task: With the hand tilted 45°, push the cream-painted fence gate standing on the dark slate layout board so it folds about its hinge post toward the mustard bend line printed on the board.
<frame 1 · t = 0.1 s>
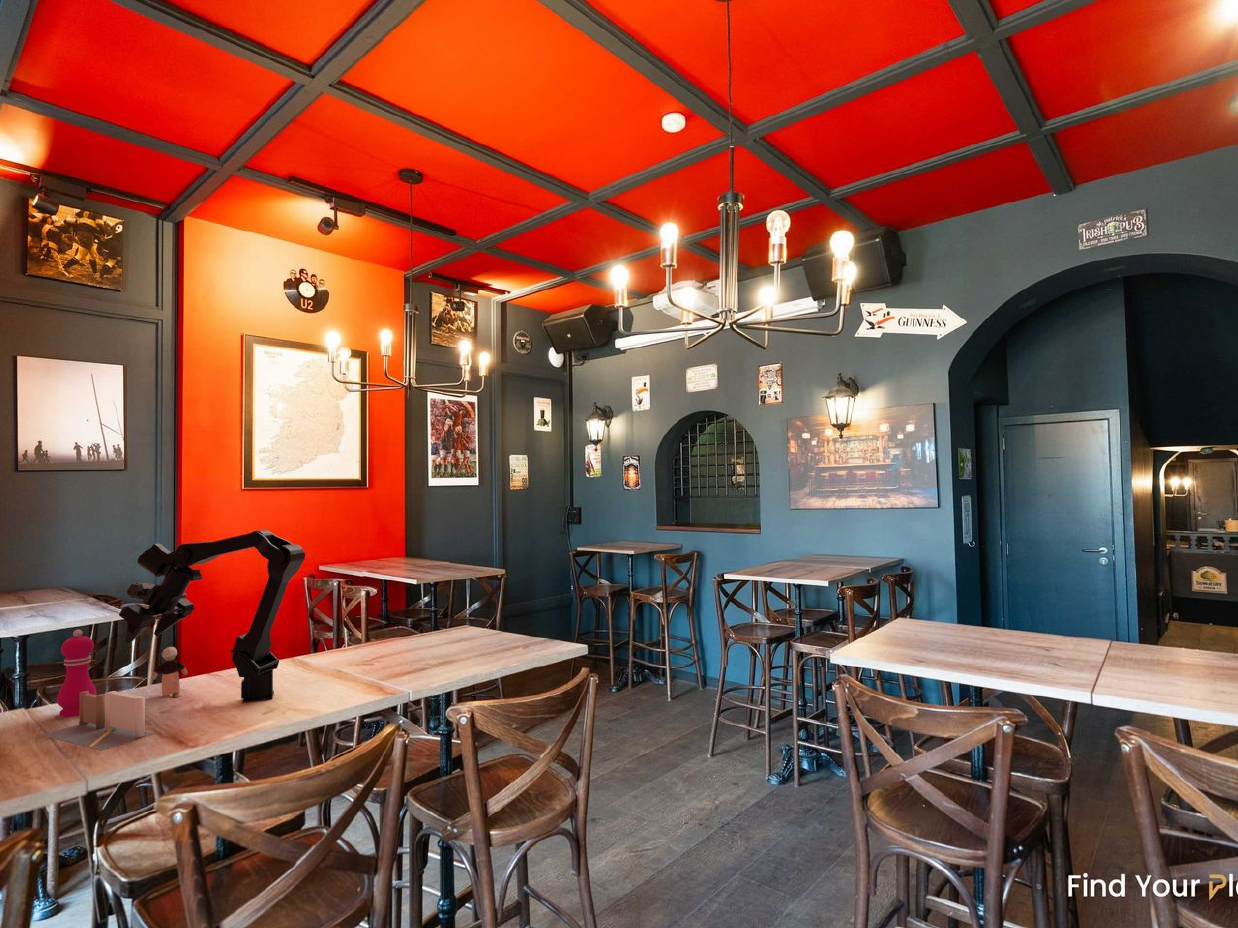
hand: (141, 638, 171), 15 cm above the table, tool tilted 35°, fingers open, 9 cm apart
fence gate: (125, 713, 141), point 5 cm above the table, hinge at 0.0°
pepper mill: (76, 716, 157), on the table
layout board: (110, 734, 144), on the table
grandmother figurine: (169, 698, 170), on the table
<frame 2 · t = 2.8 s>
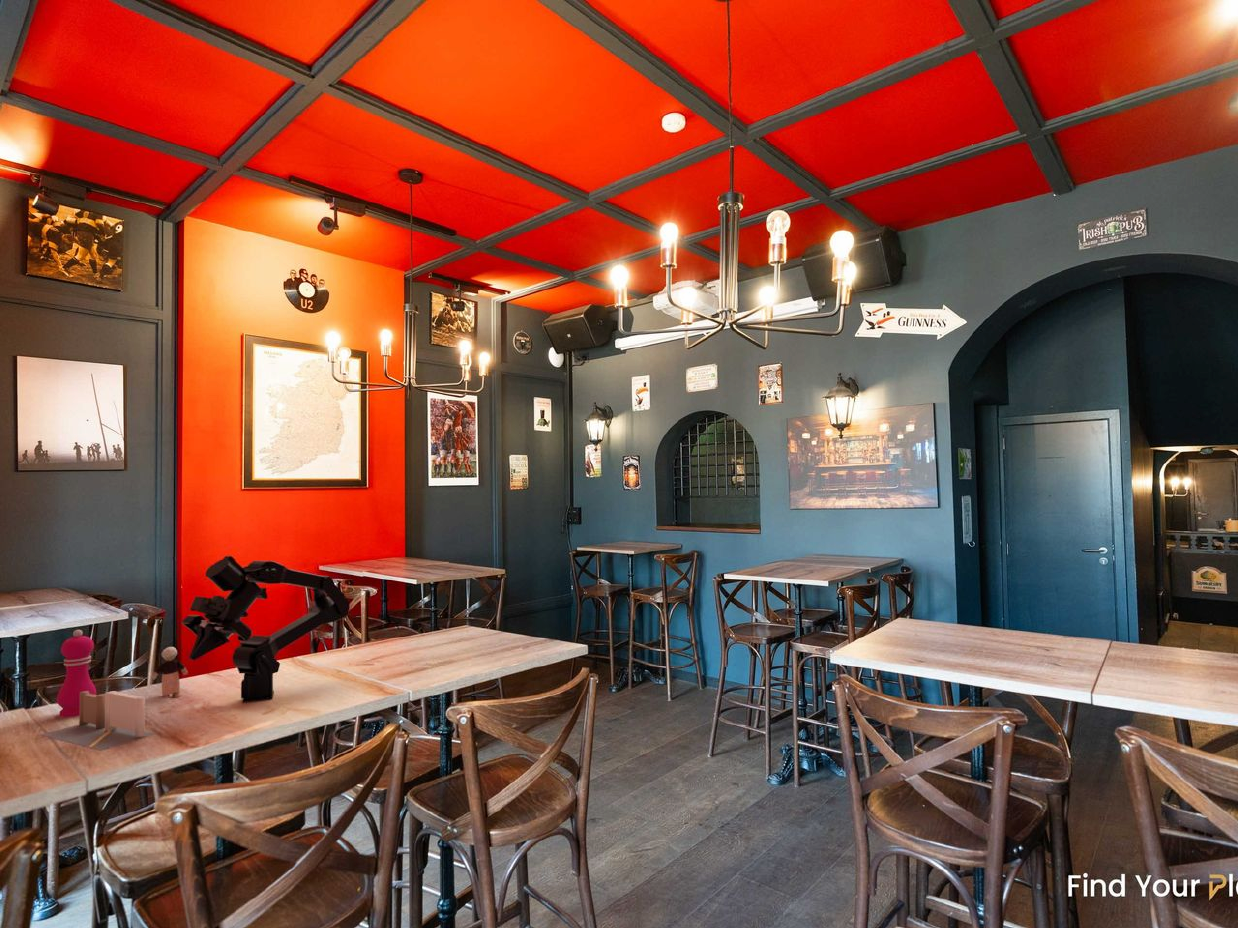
hand: (191, 659, 153), 13 cm above the table, tool tilted 45°, fingers closed
nothing on the table moved.
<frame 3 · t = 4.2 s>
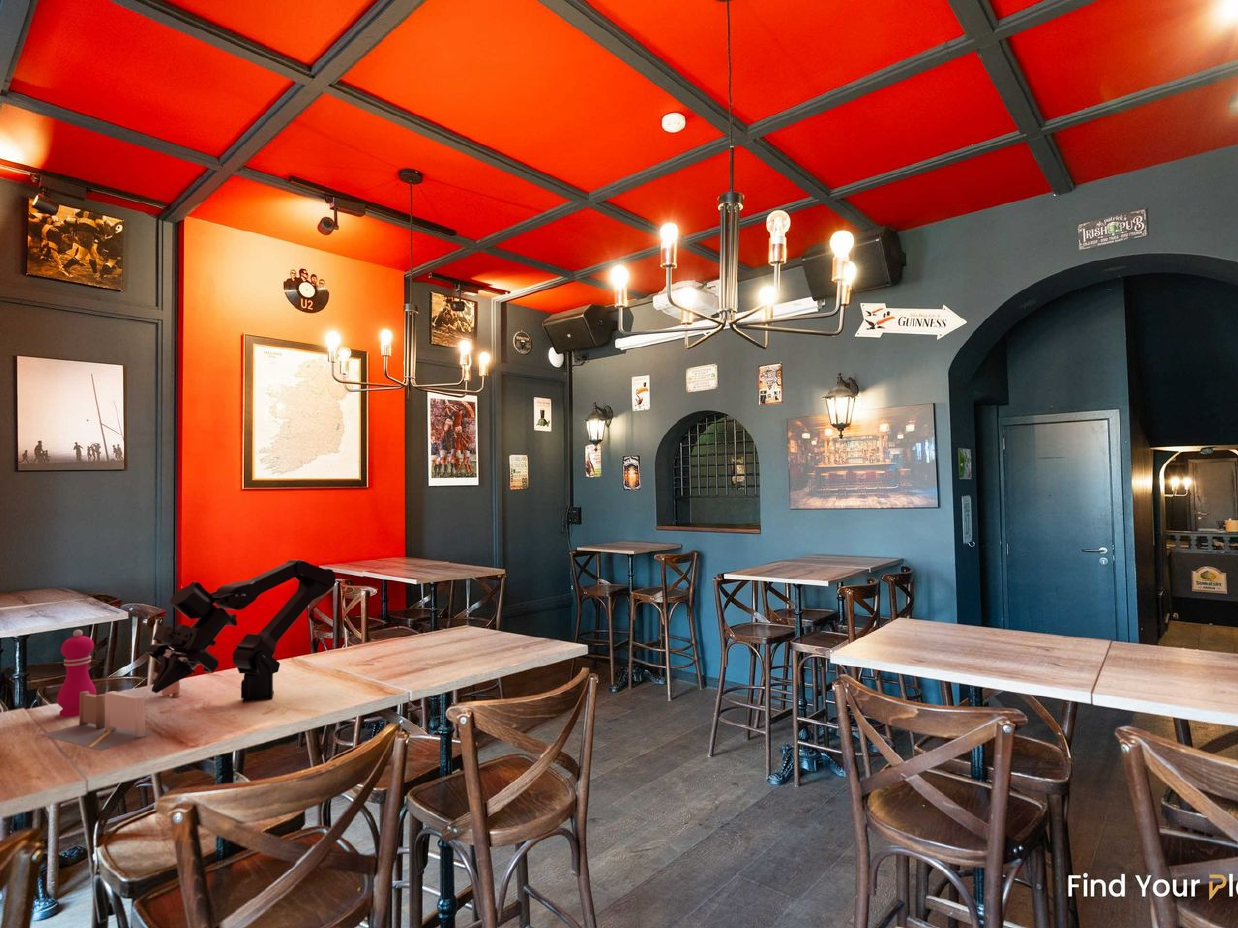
hand: (153, 691, 146), 8 cm above the table, tool tilted 45°, fingers closed
nothing on the table moved.
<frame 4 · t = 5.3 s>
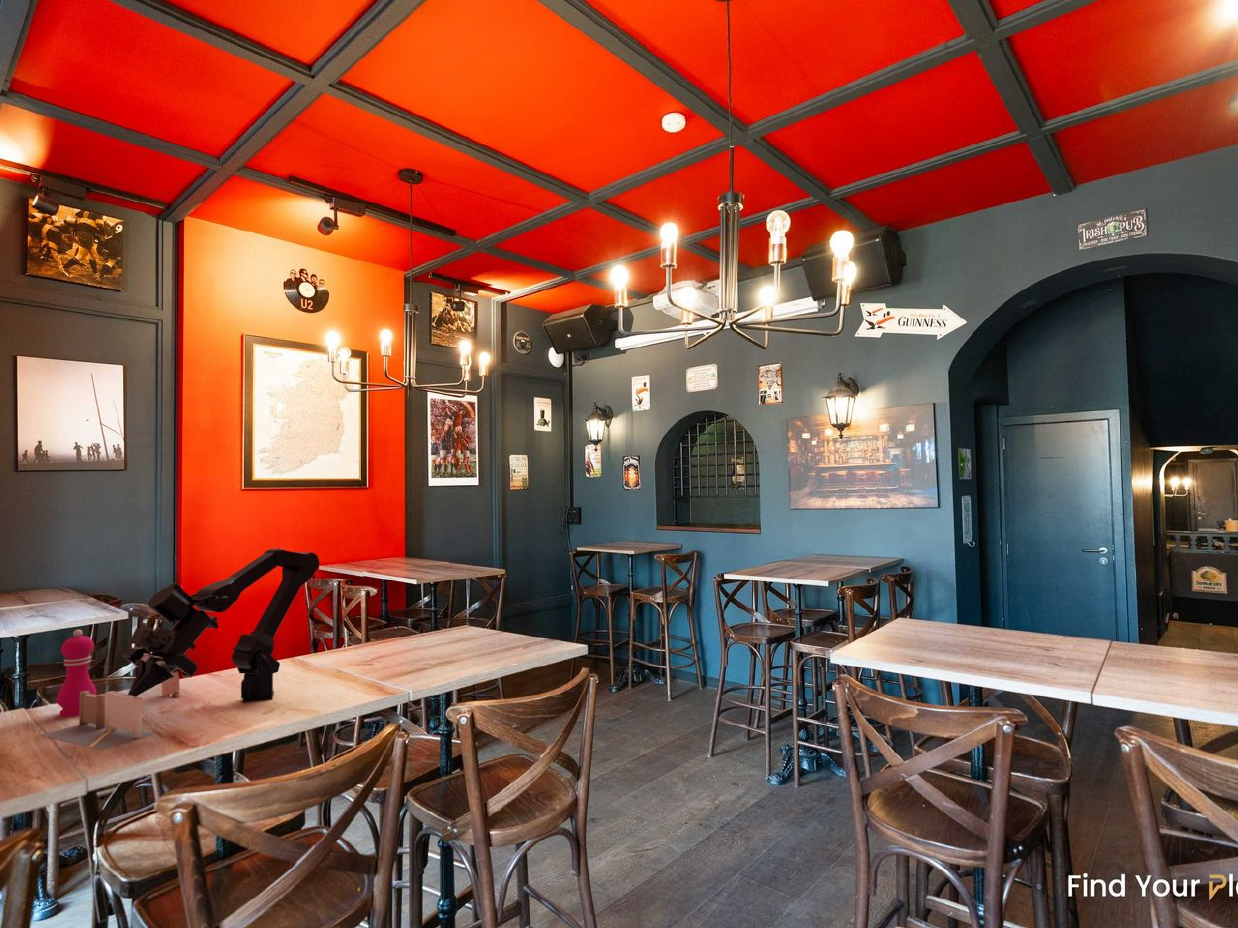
hand: (130, 696, 142), 8 cm above the table, tool tilted 45°, fingers closed, pressing on fence gate
fence gate: (123, 714, 141), point 5 cm above the table, hinge at 2.8°, touching gripper
everything else where it was.
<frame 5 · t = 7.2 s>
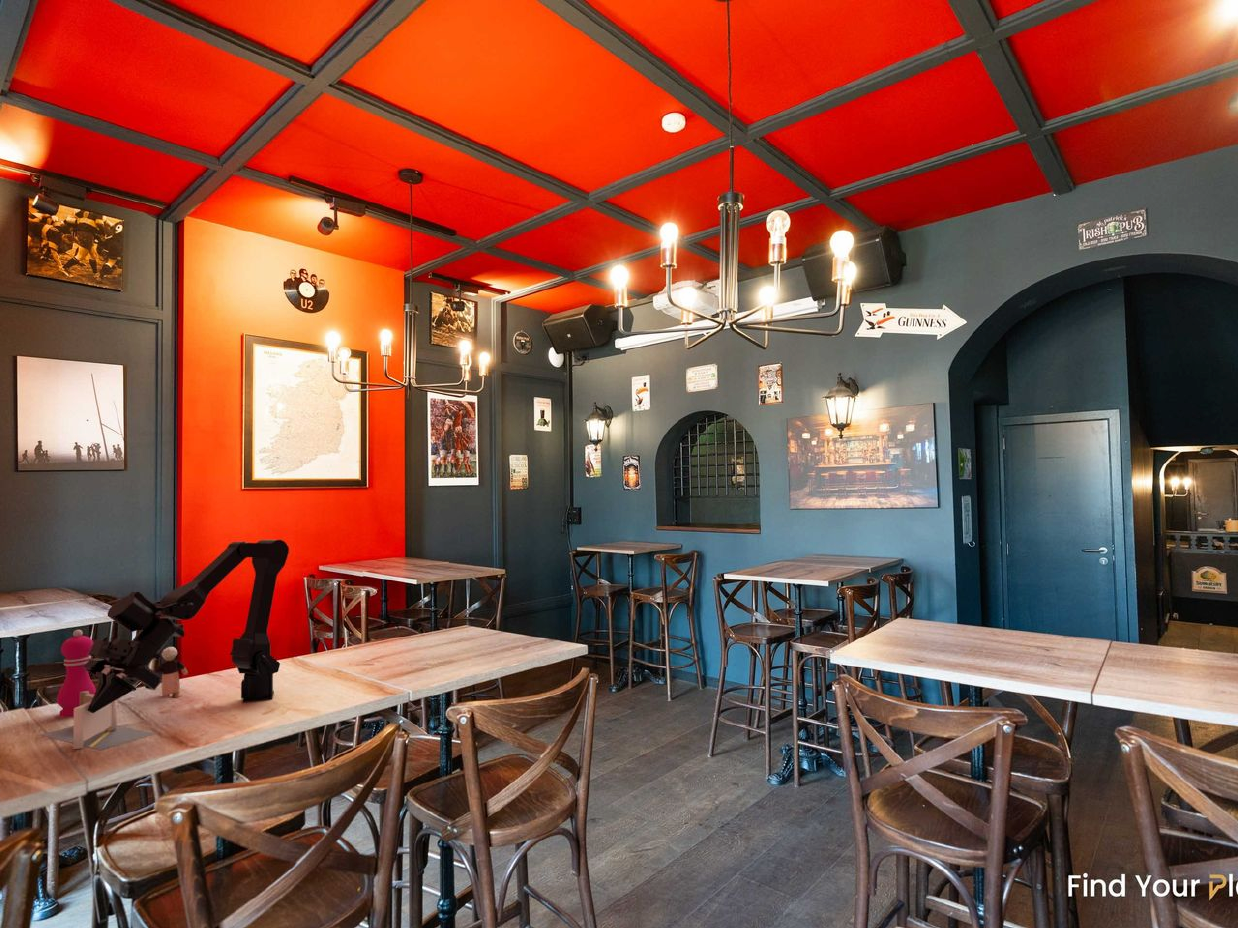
hand: (90, 711, 135), 7 cm above the table, tool tilted 45°, fingers closed
fence gate: (95, 718, 139), point 5 cm above the table, hinge at 55.3°, touching gripper
everything else where it was.
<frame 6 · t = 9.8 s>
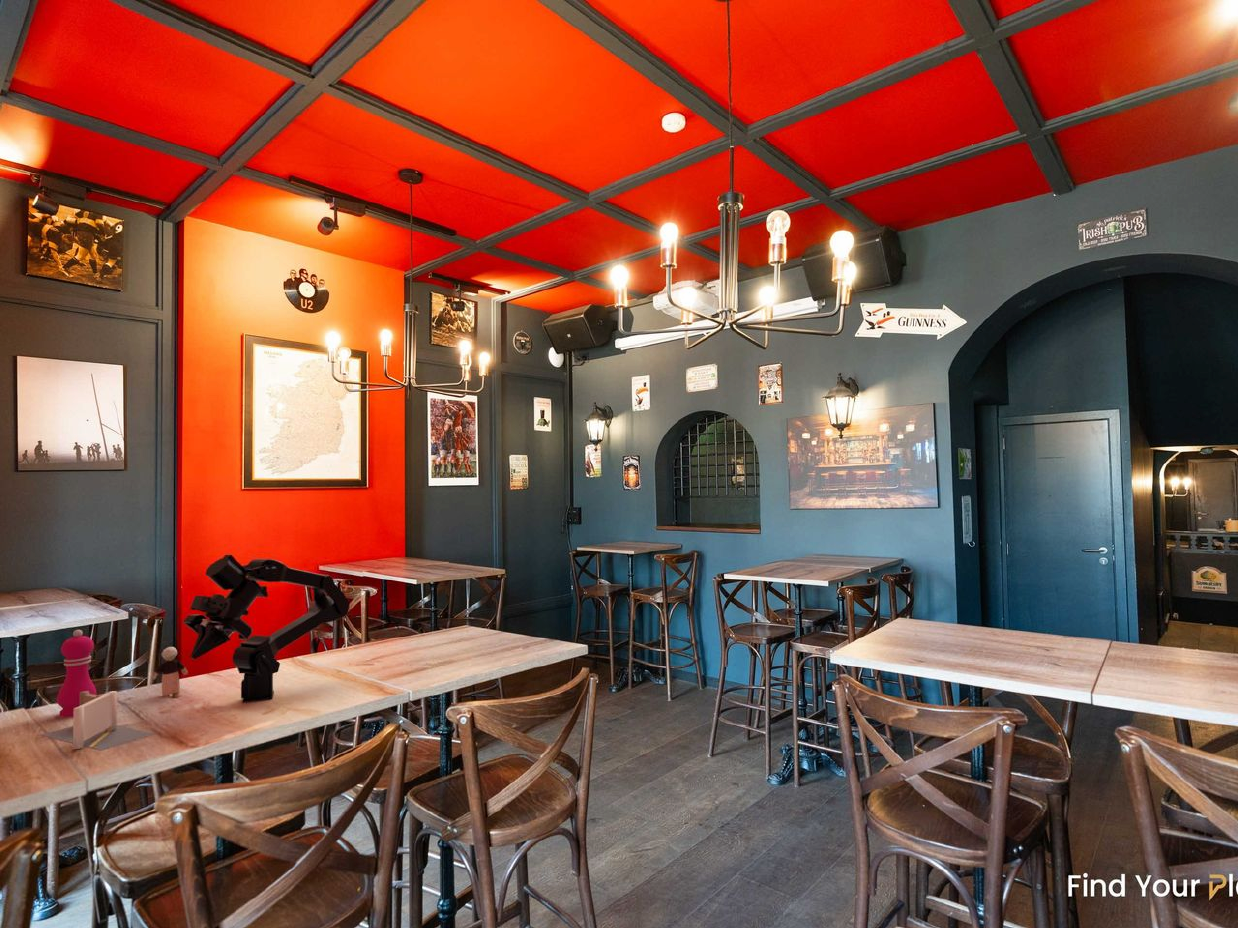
hand: (192, 658, 154), 14 cm above the table, tool tilted 45°, fingers closed
fence gate: (95, 718, 139), point 5 cm above the table, hinge at 55.5°
everything else where it was.
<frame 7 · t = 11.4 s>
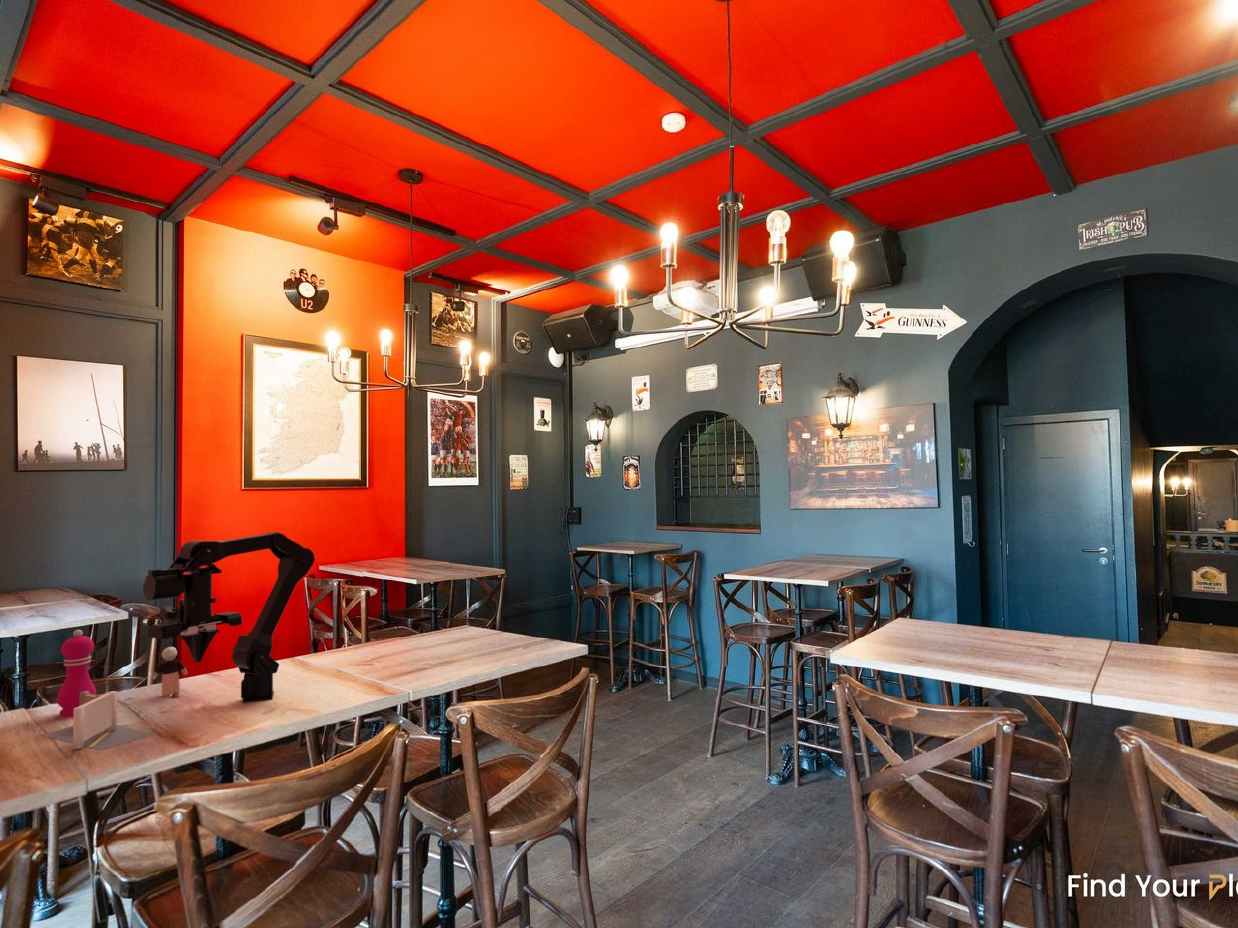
hand: (197, 662, 156), 12 cm above the table, tool pointing down, fingers closed
nothing on the table moved.
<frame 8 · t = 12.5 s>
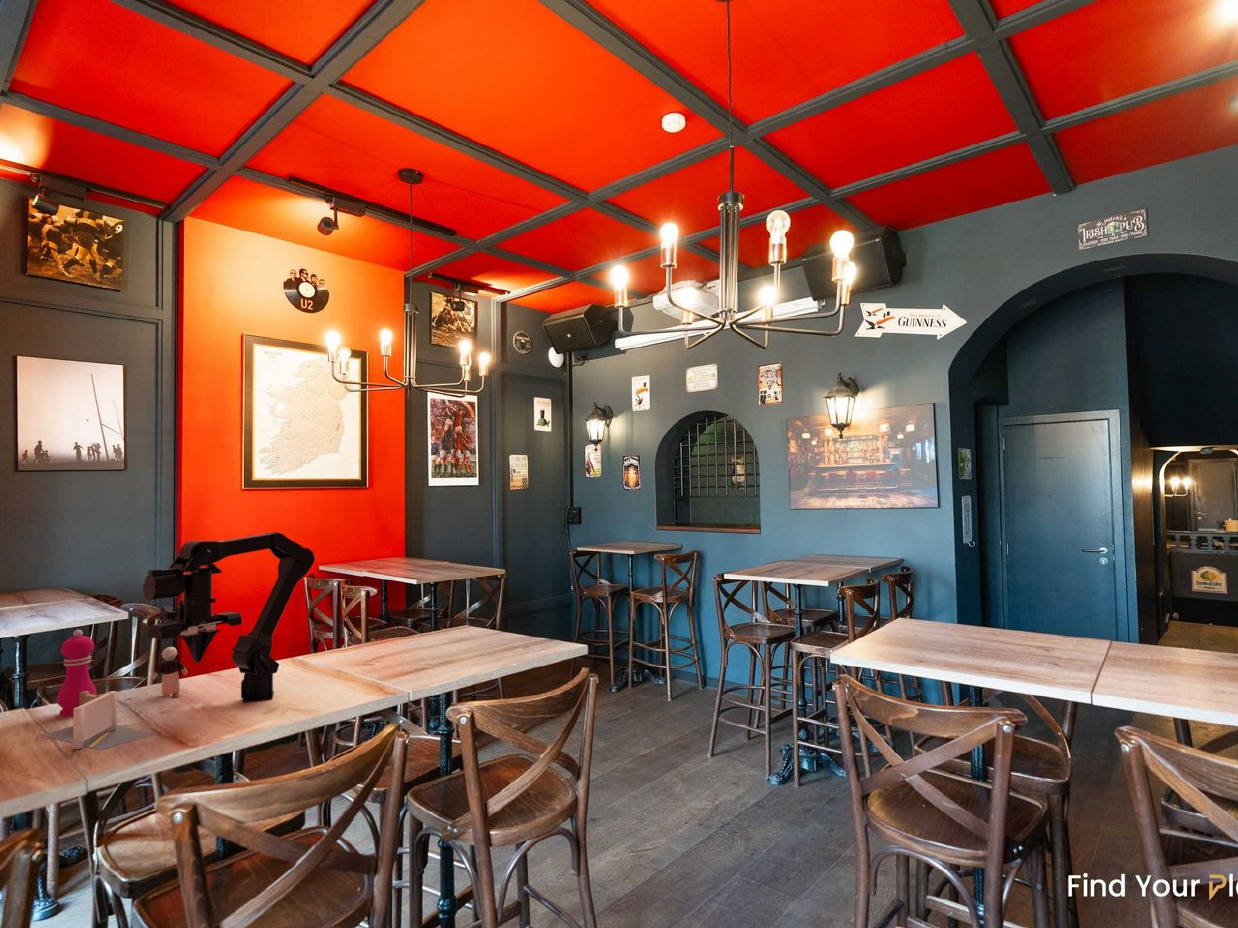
hand: (197, 662, 156), 12 cm above the table, tool pointing down, fingers closed
nothing on the table moved.
at the end: fence gate at +56° (first picture: +0°); pepper mill moved 0.2 cm from its start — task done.
